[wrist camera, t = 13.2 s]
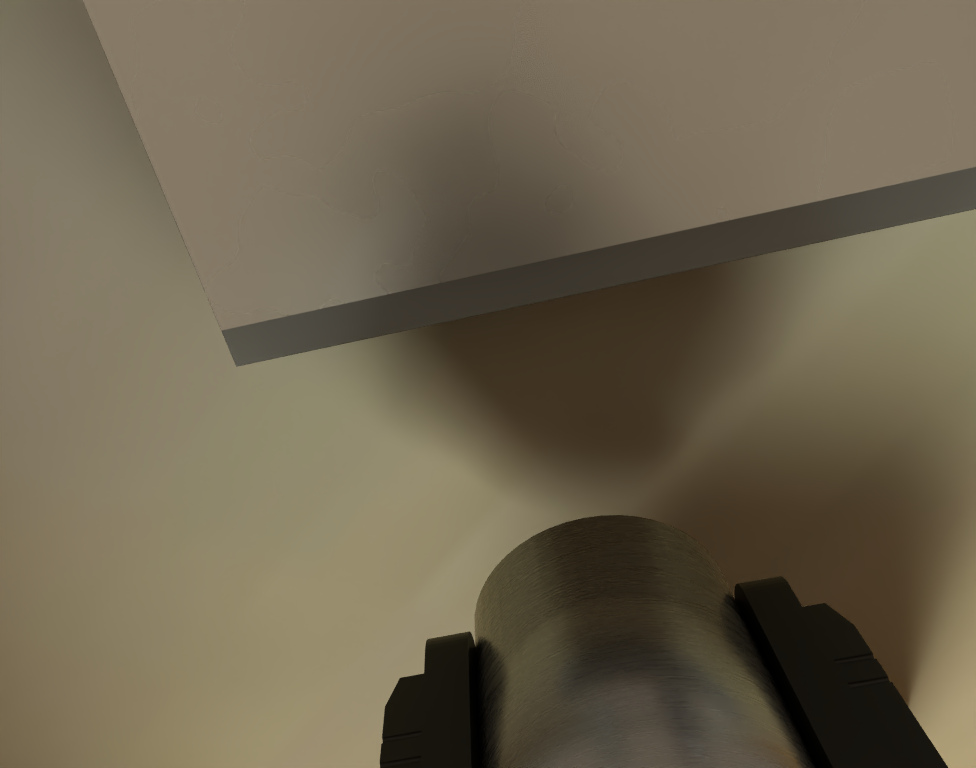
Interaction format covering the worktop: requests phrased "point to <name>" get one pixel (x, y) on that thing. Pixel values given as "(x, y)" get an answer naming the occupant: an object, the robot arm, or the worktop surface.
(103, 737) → the worktop surface
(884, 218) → the scale
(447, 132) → the shower mixer plate
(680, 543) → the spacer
